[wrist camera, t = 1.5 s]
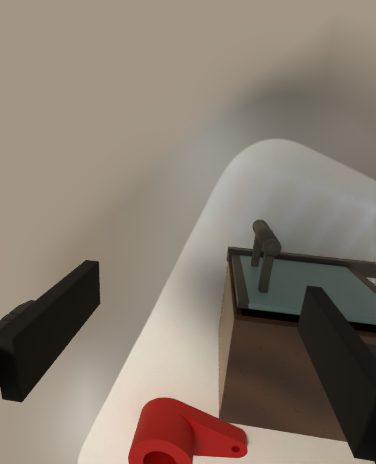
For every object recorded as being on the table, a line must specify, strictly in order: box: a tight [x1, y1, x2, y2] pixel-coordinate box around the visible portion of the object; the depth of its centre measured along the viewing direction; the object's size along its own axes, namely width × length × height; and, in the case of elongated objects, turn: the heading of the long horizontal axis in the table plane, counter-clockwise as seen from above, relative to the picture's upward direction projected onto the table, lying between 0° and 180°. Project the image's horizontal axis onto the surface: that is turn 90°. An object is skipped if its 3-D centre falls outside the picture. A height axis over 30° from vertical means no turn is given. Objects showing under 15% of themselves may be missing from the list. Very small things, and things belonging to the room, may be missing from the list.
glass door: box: [231, 220, 376, 325], centre depth 27 cm, size 6×15×11 cm, turn 86°
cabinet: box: [219, 247, 376, 442], centre depth 29 cm, size 13×24×14 cm, turn 86°
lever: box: [128, 398, 247, 464], centre depth 41 cm, size 18×9×7 cm, turn 80°
